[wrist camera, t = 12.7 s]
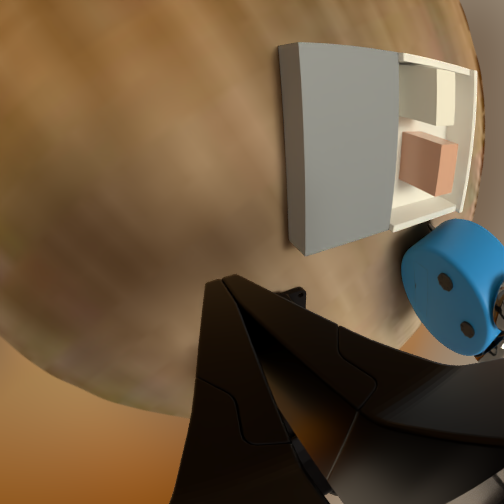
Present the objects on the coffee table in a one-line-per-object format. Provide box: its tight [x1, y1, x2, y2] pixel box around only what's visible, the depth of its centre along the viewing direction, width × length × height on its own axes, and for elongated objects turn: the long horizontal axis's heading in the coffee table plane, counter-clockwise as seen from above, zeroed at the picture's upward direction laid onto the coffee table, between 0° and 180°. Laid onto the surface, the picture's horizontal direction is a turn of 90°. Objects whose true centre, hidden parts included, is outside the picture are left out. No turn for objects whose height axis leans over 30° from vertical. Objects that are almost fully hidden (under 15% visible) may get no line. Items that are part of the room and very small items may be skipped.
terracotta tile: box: [399, 131, 458, 197], centre depth 22 cm, size 4×4×2 cm
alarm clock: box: [401, 219, 504, 363], centre depth 26 cm, size 13×6×15 cm, turn 23°
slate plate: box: [278, 42, 399, 256], centre depth 20 cm, size 14×8×2 cm, turn 5°
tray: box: [389, 53, 477, 232], centre depth 22 cm, size 14×10×4 cm
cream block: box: [399, 65, 455, 126], centre depth 19 cm, size 4×4×2 cm
